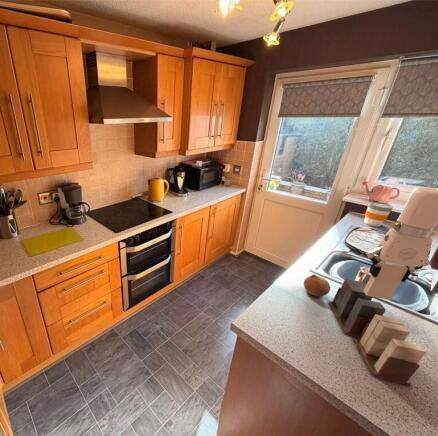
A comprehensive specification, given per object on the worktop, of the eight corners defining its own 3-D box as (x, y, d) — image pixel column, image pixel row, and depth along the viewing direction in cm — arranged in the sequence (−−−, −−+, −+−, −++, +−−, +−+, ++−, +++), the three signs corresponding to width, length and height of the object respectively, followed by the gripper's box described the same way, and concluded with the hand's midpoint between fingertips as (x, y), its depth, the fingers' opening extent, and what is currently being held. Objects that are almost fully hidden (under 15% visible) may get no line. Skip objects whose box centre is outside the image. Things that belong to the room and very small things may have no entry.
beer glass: (365, 307, 97) (381, 279, 90) (345, 298, 101) (358, 271, 95) (368, 299, 101) (383, 272, 94) (348, 291, 105) (361, 264, 99)
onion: (302, 293, 108) (299, 272, 108) (325, 292, 105) (322, 270, 105) (310, 301, 99) (306, 278, 99) (336, 300, 96) (332, 276, 96)
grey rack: (353, 308, 96) (367, 281, 90) (374, 340, 83) (392, 312, 77) (328, 302, 99) (340, 277, 93) (344, 333, 85) (359, 305, 79)
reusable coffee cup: (385, 229, 161) (395, 209, 154) (362, 224, 167) (371, 205, 161) (381, 222, 170) (390, 203, 164) (359, 218, 177) (367, 200, 170)
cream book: (386, 295, 79) (403, 264, 74) (390, 300, 77) (408, 268, 72) (363, 290, 81) (378, 260, 76) (366, 295, 79) (382, 264, 74)
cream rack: (384, 347, 80) (403, 318, 74) (409, 385, 69) (434, 355, 63) (353, 339, 83) (369, 311, 77) (372, 375, 72) (393, 346, 66)
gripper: (383, 230, 68) (359, 278, 75) (462, 240, 63) (428, 290, 70) (370, 220, 74) (349, 265, 82) (441, 227, 69) (412, 275, 77)
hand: (386, 276), depth 76 cm, fingers closed on cream book, 6 cm apart
